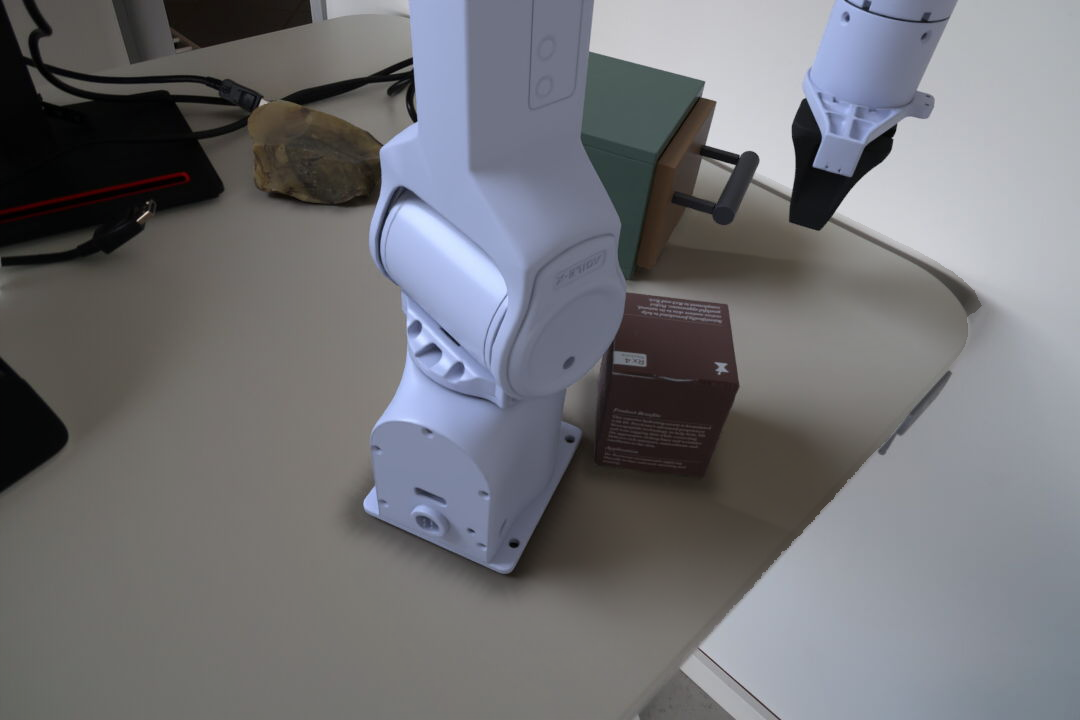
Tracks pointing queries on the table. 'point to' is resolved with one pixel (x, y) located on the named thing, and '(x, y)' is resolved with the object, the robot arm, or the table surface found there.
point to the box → (665, 386)
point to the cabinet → (631, 135)
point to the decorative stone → (312, 154)
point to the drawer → (690, 183)
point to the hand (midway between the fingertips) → (805, 221)
